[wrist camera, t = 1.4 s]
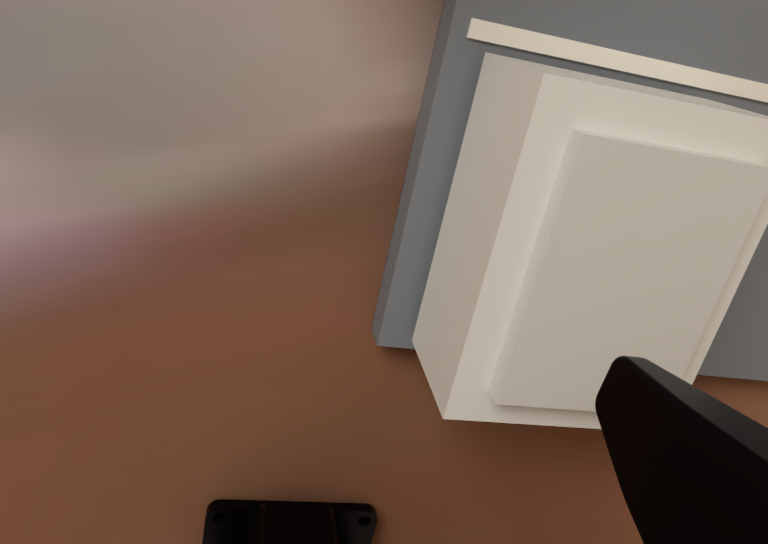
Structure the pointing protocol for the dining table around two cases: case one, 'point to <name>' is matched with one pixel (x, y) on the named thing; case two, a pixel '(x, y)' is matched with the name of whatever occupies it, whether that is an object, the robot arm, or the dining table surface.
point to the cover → (584, 240)
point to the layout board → (596, 57)
